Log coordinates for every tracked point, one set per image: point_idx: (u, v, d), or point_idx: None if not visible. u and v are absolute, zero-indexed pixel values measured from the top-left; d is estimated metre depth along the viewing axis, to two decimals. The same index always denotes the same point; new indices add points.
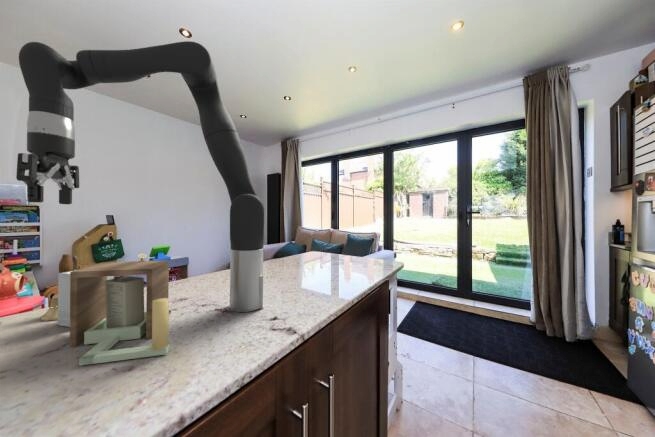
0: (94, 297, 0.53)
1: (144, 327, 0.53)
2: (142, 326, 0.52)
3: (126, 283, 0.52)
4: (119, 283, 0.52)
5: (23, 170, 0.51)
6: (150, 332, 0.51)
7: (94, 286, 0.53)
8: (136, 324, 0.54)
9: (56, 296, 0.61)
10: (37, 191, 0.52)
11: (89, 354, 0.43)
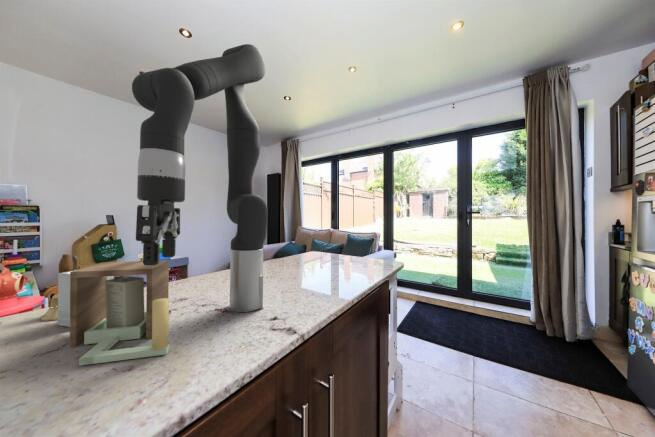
0: (94, 297, 0.53)
1: (144, 327, 0.53)
2: (142, 326, 0.52)
3: (126, 283, 0.52)
4: (119, 283, 0.52)
5: (142, 227, 0.39)
6: (150, 332, 0.51)
7: (94, 286, 0.53)
8: (136, 324, 0.54)
9: (56, 296, 0.61)
10: (154, 251, 0.41)
11: (89, 354, 0.43)
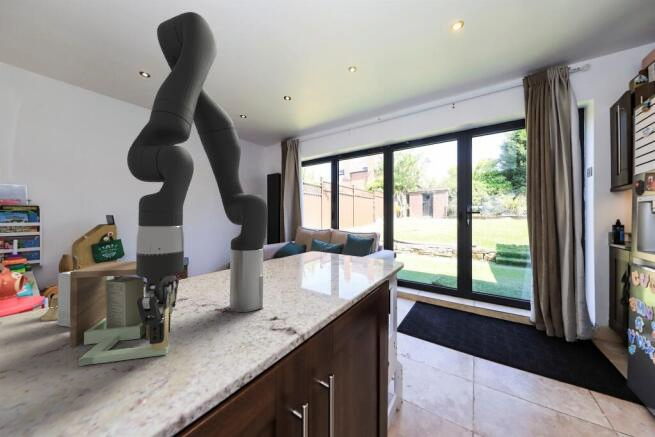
0: (94, 297, 0.53)
1: (144, 327, 0.53)
2: (142, 326, 0.52)
3: (126, 283, 0.52)
4: (119, 283, 0.52)
5: None
6: None
7: (94, 286, 0.53)
8: (136, 324, 0.54)
9: (56, 296, 0.61)
10: (160, 331, 0.44)
11: (89, 354, 0.43)
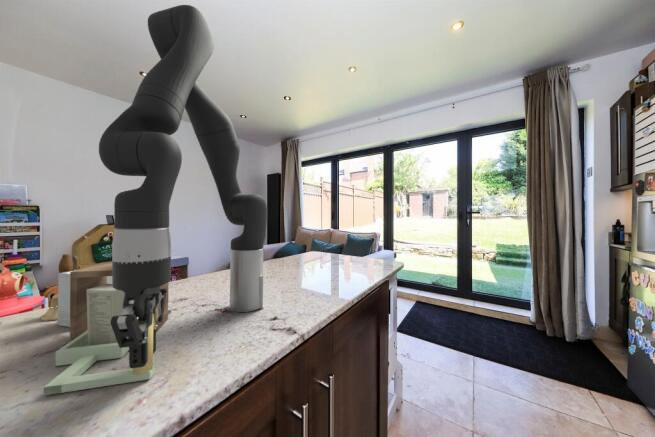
0: None
1: None
2: None
3: (115, 291, 0.46)
4: (106, 291, 0.46)
5: None
6: None
7: (94, 286, 0.53)
8: None
9: (56, 296, 0.61)
10: (141, 352, 0.37)
11: (57, 381, 0.36)
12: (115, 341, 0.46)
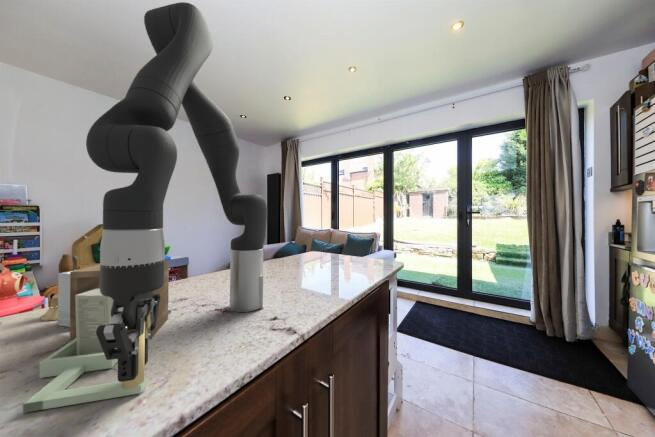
0: None
1: None
2: None
3: None
4: (99, 296, 0.43)
5: None
6: None
7: (94, 286, 0.53)
8: None
9: (56, 296, 0.61)
10: (131, 364, 0.34)
11: (39, 396, 0.33)
12: None
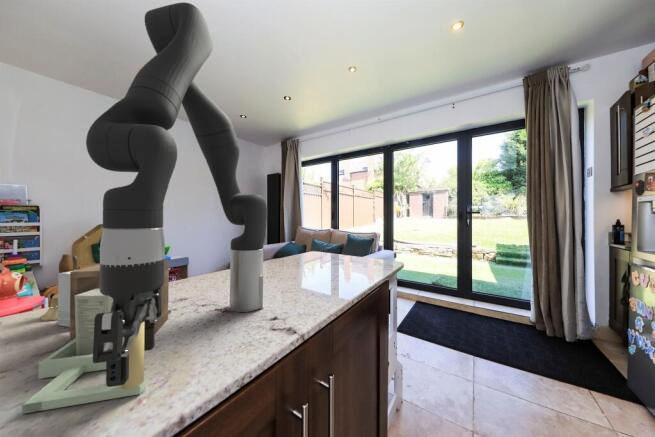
0: None
1: None
2: None
3: (109, 296, 0.43)
4: (98, 297, 0.43)
5: (102, 342, 0.29)
6: None
7: (94, 286, 0.53)
8: None
9: (56, 296, 0.61)
10: (121, 368, 0.31)
11: (38, 397, 0.33)
12: None
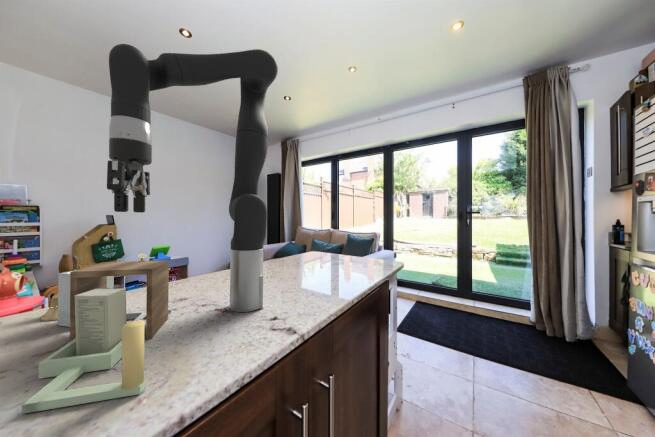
0: None
1: (118, 353, 0.43)
2: (115, 353, 0.42)
3: (109, 296, 0.43)
4: (98, 297, 0.43)
5: (112, 178, 0.48)
6: (150, 332, 0.51)
7: (94, 286, 0.53)
8: None
9: (56, 296, 0.61)
10: (124, 200, 0.50)
11: (38, 397, 0.33)
12: (108, 349, 0.43)
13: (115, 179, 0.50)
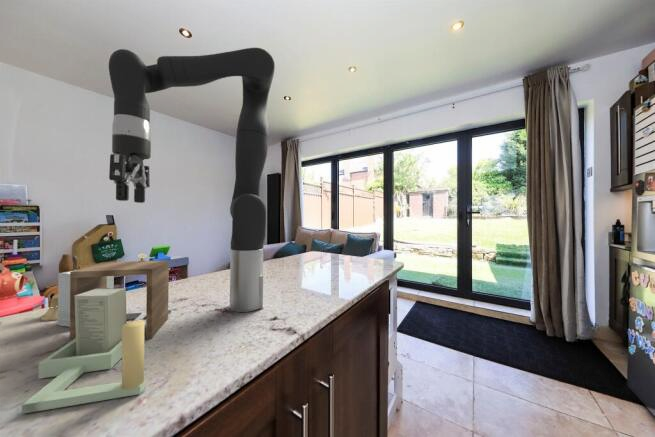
0: None
1: (118, 353, 0.43)
2: (115, 353, 0.42)
3: (109, 296, 0.43)
4: (98, 297, 0.43)
5: (114, 170, 0.54)
6: (150, 332, 0.51)
7: (94, 286, 0.53)
8: None
9: (56, 296, 0.61)
10: (124, 190, 0.55)
11: (38, 397, 0.33)
12: (108, 349, 0.43)
13: (117, 171, 0.56)
